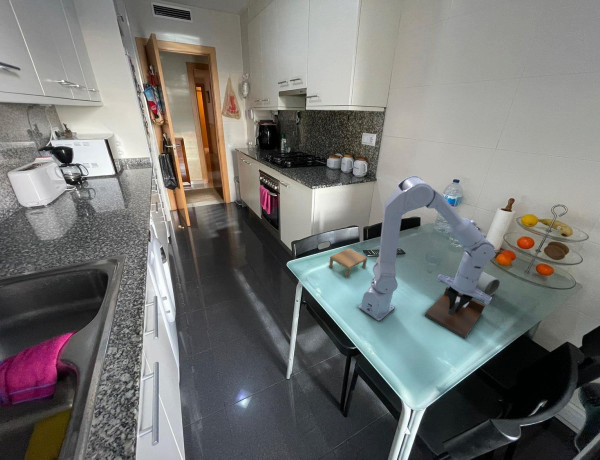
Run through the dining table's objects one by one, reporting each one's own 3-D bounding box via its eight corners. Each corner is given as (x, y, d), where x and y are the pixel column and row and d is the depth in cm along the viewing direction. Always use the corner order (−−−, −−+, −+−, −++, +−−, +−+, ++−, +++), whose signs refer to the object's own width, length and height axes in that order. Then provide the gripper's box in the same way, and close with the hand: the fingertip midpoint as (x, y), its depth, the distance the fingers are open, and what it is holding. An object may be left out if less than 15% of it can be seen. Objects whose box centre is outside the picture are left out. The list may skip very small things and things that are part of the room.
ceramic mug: (475, 281, 100) (481, 265, 97) (495, 294, 93) (503, 277, 90) (455, 287, 97) (461, 270, 93) (475, 300, 90) (483, 283, 86)
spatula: (456, 318, 76) (457, 315, 76) (443, 311, 79) (444, 308, 79) (468, 303, 83) (470, 300, 83) (456, 296, 86) (457, 294, 85)
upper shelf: (347, 277, 99) (349, 267, 97) (329, 266, 105) (330, 256, 103) (365, 267, 106) (367, 257, 104) (347, 257, 113) (348, 248, 111)
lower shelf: (464, 338, 74) (469, 328, 72) (424, 315, 82) (427, 306, 80) (481, 314, 83) (485, 305, 82) (443, 295, 91) (447, 286, 90)
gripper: (500, 281, 72) (484, 316, 77) (447, 259, 81) (436, 292, 87) (494, 290, 67) (476, 327, 73) (438, 266, 77) (427, 301, 83)
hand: (454, 309), depth 80 cm, fingers closed on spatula, 1 cm apart
